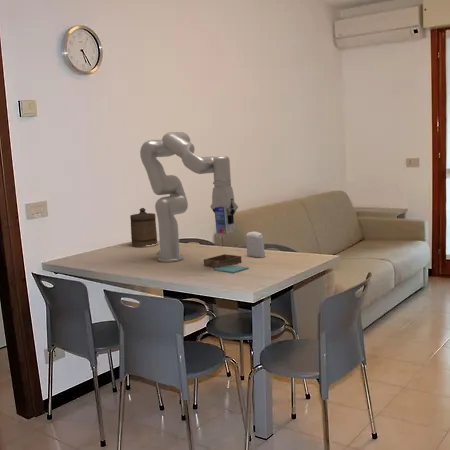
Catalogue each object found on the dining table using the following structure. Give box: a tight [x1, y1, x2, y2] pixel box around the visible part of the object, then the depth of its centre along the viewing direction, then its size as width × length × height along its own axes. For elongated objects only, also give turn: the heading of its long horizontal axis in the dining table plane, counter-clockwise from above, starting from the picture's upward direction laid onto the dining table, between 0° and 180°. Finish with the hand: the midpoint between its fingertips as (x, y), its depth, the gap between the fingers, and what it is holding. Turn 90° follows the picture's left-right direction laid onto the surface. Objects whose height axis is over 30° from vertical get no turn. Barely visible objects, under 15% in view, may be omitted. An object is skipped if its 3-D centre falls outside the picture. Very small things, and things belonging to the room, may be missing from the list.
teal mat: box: [213, 264, 249, 274], centre depth 248 cm, size 12×10×1 cm
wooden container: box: [130, 207, 158, 247], centre depth 326 cm, size 15×15×22 cm
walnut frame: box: [203, 253, 242, 268], centre depth 261 cm, size 11×15×3 cm
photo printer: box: [245, 231, 266, 258], centre depth 275 cm, size 10×4×12 cm, turn 39°
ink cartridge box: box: [214, 207, 236, 235], centre depth 252 cm, size 10×6×14 cm, turn 156°
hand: (225, 223), depth 252 cm, fingers closed on ink cartridge box, 6 cm apart
